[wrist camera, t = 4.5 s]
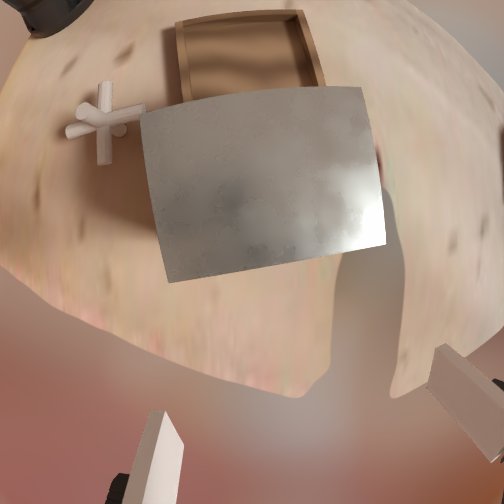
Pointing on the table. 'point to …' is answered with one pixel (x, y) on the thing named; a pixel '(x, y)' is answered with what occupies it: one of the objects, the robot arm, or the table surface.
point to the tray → (246, 53)
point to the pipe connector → (103, 121)
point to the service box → (262, 179)
